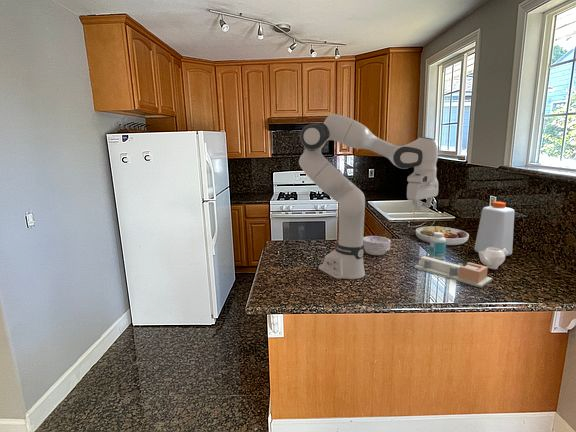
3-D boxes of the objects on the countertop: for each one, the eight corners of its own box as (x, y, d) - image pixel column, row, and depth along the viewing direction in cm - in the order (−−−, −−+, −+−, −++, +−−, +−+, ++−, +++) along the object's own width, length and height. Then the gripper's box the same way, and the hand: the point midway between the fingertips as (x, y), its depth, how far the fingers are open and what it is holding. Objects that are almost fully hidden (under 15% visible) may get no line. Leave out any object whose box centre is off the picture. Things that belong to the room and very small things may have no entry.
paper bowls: (379, 247, 196) (380, 234, 194) (395, 255, 182) (396, 241, 180) (356, 250, 191) (356, 236, 190) (370, 258, 177) (371, 244, 175)
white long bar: (419, 264, 166) (420, 255, 165) (424, 262, 168) (424, 254, 168) (473, 279, 147) (474, 270, 146) (477, 277, 150) (479, 267, 149)
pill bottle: (446, 257, 178) (449, 232, 175) (441, 261, 173) (443, 235, 170) (431, 254, 183) (434, 230, 180) (426, 258, 178) (428, 233, 175)
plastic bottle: (488, 247, 196) (494, 199, 190) (515, 255, 182) (522, 203, 176) (470, 251, 189) (476, 201, 183) (497, 259, 176) (504, 206, 170)
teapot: (515, 267, 164) (518, 249, 162) (486, 273, 156) (488, 254, 154) (497, 261, 173) (499, 243, 171) (468, 267, 165) (470, 248, 163)
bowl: (406, 239, 213) (407, 227, 211) (428, 231, 233) (429, 219, 231) (455, 250, 191) (456, 236, 190) (475, 240, 211) (477, 227, 209)
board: (414, 267, 164) (415, 256, 163) (426, 262, 172) (427, 250, 170) (481, 287, 142) (482, 274, 140) (492, 280, 149) (493, 267, 148)
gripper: (429, 174, 153) (427, 204, 156) (405, 177, 140) (402, 210, 143) (443, 175, 148) (440, 206, 151) (419, 178, 135) (416, 213, 138)
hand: (422, 208), depth 147 cm, fingers open, 8 cm apart
